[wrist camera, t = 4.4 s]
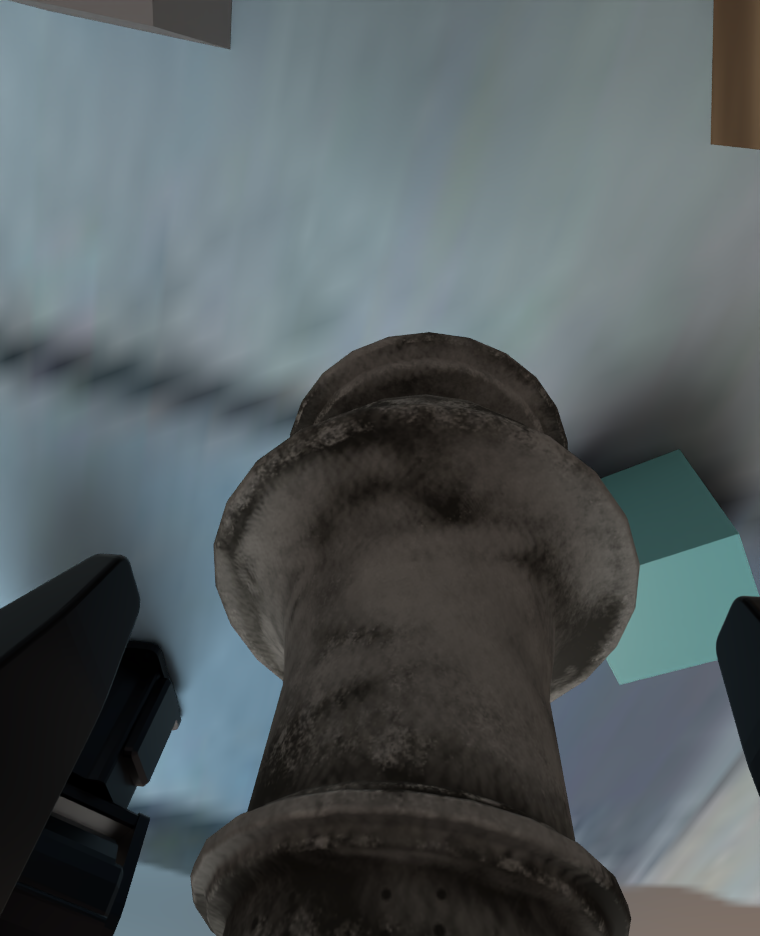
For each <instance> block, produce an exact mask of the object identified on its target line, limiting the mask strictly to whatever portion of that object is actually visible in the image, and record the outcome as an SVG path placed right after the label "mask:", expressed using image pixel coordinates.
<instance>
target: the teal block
mask: <svg viewBox="0 0 760 936" xmlns="http://www.w3.org/2000/svg"><path fill="white" fill-rule="evenodd" d="M601 480H602V482H603V483H604V484H605V486H606V487H607V489H608V490H609V492H610V493H611V494H612V496H613V497H614V499H615V500H616V502H617V503H618V505H619V506H620V507H621V509H622V510H623V512H624V513H625V515H626V517H627V519H628V522H629V526H630V529H631V533H632V537H633V541H634V544H635V548H636V552H637V556H638V559H639V563H640V570H639V579H638V588H637V598H636V607H635V610H634V612H633V614H632V616H631V618H630V620H629V622H628V624H627V626H626V629H625V631H624V633H623V635H622V637H621V639H620V641H619V643H618V645H617V647H616V648H615V649H614V650H613V651H612V652H611V653H610V654H609V655H608V656H607V658H606V660H607V662H608V664H609V666H610V667H611V669H612V671H613V673H614V675H615V677H616V679H617V681H618V683H619V685H621V684H625V683H629V682H633V681H637V680H641V679H645V678H649V677H653V676H657V675H661V674H665V673H668V672H672V671H676V670H680V669H684V668H688V667H692V666H696V665H700V664H704V663H708V662H712V661H715V660H718V659H717V654H716V641H717V637H718V634H719V632H720V630H721V627H722V625H723V623H724V621H725V618H726V616H727V614H728V612H729V609H730V607H731V605H732V603H733V601H734V600H735V599H736V598H738V597H740V596H756V597H759V594H758V591H757V588H756V585H755V582H754V578H753V575H752V572H751V569H750V566H749V563H748V560H747V557H746V554H745V551H744V548H743V545H742V542H741V538H740V535H739V533H738V532H737V530H736V529H735V527H734V526H733V525H732V523H731V522H730V520H729V519H728V517H727V516H726V515H725V513H724V512H723V510H722V509H721V508H720V506H719V505H718V503H717V502H716V501H715V499H714V498H713V496H712V495H711V493H710V492H709V491H708V489H707V488H706V486H705V485H704V484H703V482H702V481H701V479H700V478H699V476H698V475H697V474H696V472H695V471H694V469H693V468H692V467H691V465H690V464H689V462H688V461H687V459H686V458H685V457H684V455H683V454H682V452H681V451H680V450H679V449H678V450H676V451H673V452H670V453H668V454H665V455H662V456H660V457H657V458H654V459H652V460H649V461H646V462H644V463H641V464H638V465H636V466H633V467H630V468H628V469H625V470H622V471H620V472H617V473H614V474H612V475H609V476H606V477H604V478H601Z"/></svg>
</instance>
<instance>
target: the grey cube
mask: <svg viewBox="0 0 760 936" xmlns="http://www.w3.org/2000/svg"><path fill="white" fill-rule="evenodd" d="M9 1H13V2H17V3H21V4H25V5H29V6H33V7H36V8H40V9H44V10H48V11H52V12H57V13H62V14H66V15H71V16H76V17H81V18H85V19H90V20H95V21H99V22H104V23H109V24H113V25H118V26H123V27H128V28H132V29H137V30H142V31H146V32H151V33H156V34H160V35H165V36H170V37H175V38H179V39H184V40H189V41H193V42H198V43H203V44H207V45H212V46H217V47H222V48H226V49H230V44H231V12H232V0H9Z"/></svg>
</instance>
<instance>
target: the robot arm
mask: <svg viewBox="0 0 760 936" xmlns="http://www.w3.org/2000/svg"><path fill="white" fill-rule="evenodd" d="M139 608H140V596H139V592H138V589H137V585H136V582H135V578H134V575H133V572H132V568H131V565H130V562H129V560H128V559H127V558H126V557H125V556H122V555H114V554H96V555H94V556H92V557H90V558H88V559H86V560H84V561H83V562H81V563H79V564H78V565H76V566H74V567H72V568H71V569H69V570H67V571H65V572H64V573H62V574H60V575H58V576H57V577H55V578H53V579H51V580H50V581H48V582H46V583H44V584H43V585H41V586H39V587H37V588H36V589H34V590H32V591H30V592H29V593H27V594H25V595H24V596H22V597H20V598H18V599H17V600H15V601H13V602H11V603H10V604H8V605H6V606H4V607H3V608H1V609H0V936H113V934H114V932H115V930H116V927H117V925H118V922H119V920H120V917H121V914H122V911H123V908H124V905H125V902H126V898H127V895H128V892H129V888H130V885H131V882H132V878H133V875H134V872H135V868H136V865H137V862H138V858H139V855H140V851H141V848H142V845H143V841H144V838H145V835H146V831H147V828H148V824H149V821H150V817H148V816H146V815H144V814H142V813H138V814H136V813H134V812H132V811H130V810H128V809H127V807H128V805H129V803H130V800H131V798H132V796H133V794H134V792H135V789H136V787H137V786H145V785H146V784H147V783H148V782H149V781H150V779H151V776H152V774H153V772H154V770H155V767H156V765H157V763H158V761H159V758H160V756H161V754H162V752H163V749H164V747H165V745H166V742H167V740H168V738H169V736H170V733H171V731H172V730H176V729H178V727H179V725H180V722H181V717H180V709H179V706H178V702H177V699H176V695H175V692H174V688H173V685H172V682H171V680H170V678H169V675H168V671H167V668H166V664H165V661H164V657H163V654H162V650H161V649H160V647H159V646H158V645H156V644H154V643H147V642H135V641H128V640H129V637H130V635H131V632H132V629H133V626H134V624H135V621H136V618H137V616H138V613H139ZM716 654H717V659H718V662H719V666H720V669H721V673H722V677H723V680H724V684H725V687H726V691H727V694H728V698H729V702H730V705H731V709H732V712H733V716H734V719H735V723H736V727H737V730H738V734H739V737H740V741H741V744H742V748H743V751H744V754H745V758H746V761H747V764H748V767H749V770H750V773H751V775H752V778H753V781H754V783H755V786H756V789H757V791H758V794H759V796H760V597H756V596H740V597H738V598H736V599H735V600H734V601H733V603H732V605H731V607H730V609H729V612H728V614H727V616H726V618H725V621H724V623H723V625H722V627H721V630H720V632H719V634H718V637H717V641H716Z"/></svg>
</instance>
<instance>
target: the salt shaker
mask: <svg viewBox="0 0 760 936" xmlns="http://www.w3.org/2000/svg"><path fill="white" fill-rule="evenodd" d="M214 563H215V583H216V588H217V590H218V593H219V596H220V598H221V601H222V603H223V606H224V608H225V611H226V614H227V616H228V619H229V621H230V624H231V625H232V627H233V628H234V629H235V631H236V632H237V633H238V635H239V636H240V637H241V639H242V640H243V641H244V643H245V644H246V645H247V647H248V648H249V649H250V651H251V652H252V653H253V655H254V656H255V657H256V659H257V660H258V661H260V662H261V663H262V664H263V665H264V666H266V667H267V668H268V669H269V670H270V671H272V672H273V673H274V674H275V675H277V676H278V677H279V678H280V679H281V680H283V686H282V690H281V693H280V697H279V701H278V704H277V708H276V711H275V715H274V718H273V722H272V725H271V729H270V733H269V736H268V740H267V743H266V747H265V750H264V754H263V757H262V761H261V765H260V768H259V772H258V775H257V779H256V782H255V786H254V790H253V793H252V797H251V800H250V804H249V807H248V811H247V812H246V813H243V814H241V815H239V816H237V817H236V818H234V819H233V820H232V821H230V822H229V823H228V824H226V825H225V826H224V827H223V828H221V829H220V830H219V831H217V832H216V833H215V834H213V835H212V836H211V837H209V838H208V839H207V840H206V842H205V844H204V846H203V848H202V850H201V852H200V854H199V856H198V858H197V860H196V862H195V864H194V867H193V870H192V873H191V876H190V877H191V886H192V895H193V902H194V904H195V906H196V908H197V910H198V911H199V913H200V914H201V916H202V918H203V919H204V921H205V922H206V924H207V925H208V927H209V928H210V930H211V931H212V932H213V933H214V934H216V936H628V934H629V928H630V922H631V916H630V912H629V908H628V904H627V902H626V900H625V898H624V896H623V893H622V891H621V889H620V886H619V884H618V882H617V880H616V878H615V876H614V875H613V874H612V873H611V872H610V871H608V870H607V869H606V868H605V867H604V866H603V865H602V864H601V863H600V862H599V861H598V860H596V859H595V858H594V857H593V856H592V855H591V854H590V853H589V852H588V851H587V850H586V849H584V848H583V847H582V846H581V845H580V844H578V843H577V842H575V837H574V831H573V826H572V820H571V815H570V809H569V804H568V799H567V793H566V788H565V782H564V777H563V771H562V766H561V760H560V755H559V749H558V744H557V738H556V733H555V727H554V722H553V716H552V711H551V705H550V703H551V702H552V701H554V700H555V699H557V698H558V697H560V696H562V695H563V694H565V693H566V692H568V691H569V690H571V689H573V688H574V687H576V686H577V685H579V684H580V683H582V682H583V681H585V680H586V679H587V678H588V677H589V676H590V675H591V674H592V673H593V671H594V670H595V669H596V668H597V667H598V666H599V665H600V664H601V663H602V662H603V661H604V660H605V659H606V658H607V656H608V655H609V654H610V653H611V652H612V651H613V650H614V649H615V648H616V647H617V645H618V643H619V641H620V639H621V637H622V635H623V633H624V631H625V629H626V626H627V624H628V622H629V620H630V618H631V616H632V614H633V612H634V610H635V607H636V598H637V588H638V579H639V570H640V563H639V559H638V556H637V552H636V548H635V544H634V541H633V537H632V533H631V529H630V526H629V522H628V519H627V517H626V515H625V513H624V512H623V510H622V509H621V507H620V506H619V505H618V503H617V502H616V500H615V499H614V497H613V496H612V494H611V493H610V492H609V490H608V489H607V487H606V486H605V484H604V483H603V482H602V480H601V479H600V477H599V476H598V474H597V473H596V472H595V471H594V470H593V469H591V468H590V467H589V466H587V465H586V464H585V463H583V462H582V461H581V460H580V459H578V458H577V457H576V456H574V455H573V454H572V453H571V452H569V451H568V442H567V438H566V435H565V432H564V428H563V425H562V422H561V419H560V415H559V412H558V409H557V407H556V405H555V404H554V402H553V401H552V399H551V398H550V396H549V395H548V394H547V392H546V391H545V389H544V388H543V386H542V385H541V383H540V382H539V381H538V379H537V378H536V377H535V376H534V375H533V374H531V373H530V372H529V371H528V370H526V369H525V368H524V367H523V366H521V365H520V364H519V363H518V362H516V361H515V360H514V359H513V358H511V357H510V356H509V355H508V354H506V353H504V352H502V351H499V350H497V349H494V348H492V347H490V346H487V345H485V344H483V343H480V342H478V341H476V340H473V339H471V338H466V337H459V336H452V335H445V334H438V333H431V332H427V333H418V334H409V335H401V336H392V337H387V338H385V339H382V340H379V341H377V342H374V343H372V344H369V345H367V346H364V347H362V348H359V349H356V350H354V351H352V352H351V353H349V354H348V355H347V356H345V357H344V358H343V359H341V360H340V361H339V362H337V363H336V364H335V365H333V366H332V367H331V368H329V369H328V370H327V371H325V372H324V373H323V374H322V375H321V377H320V378H319V379H318V381H317V382H316V383H315V385H314V386H313V387H312V389H311V390H310V391H309V393H308V394H307V395H306V397H305V398H304V399H303V401H302V403H301V405H300V408H299V411H298V414H297V417H296V419H295V422H294V425H293V428H292V431H291V433H290V438H288V439H287V440H286V441H284V442H283V443H281V444H280V445H279V446H277V447H276V448H274V449H273V450H272V451H270V452H269V453H267V454H266V455H265V456H263V457H262V458H260V459H259V460H258V461H257V462H256V463H255V464H254V466H253V467H252V468H251V470H250V471H249V472H248V474H247V475H246V476H245V478H244V479H243V481H242V482H241V483H240V485H239V486H238V487H237V489H236V490H235V491H234V493H233V494H232V495H231V497H230V498H229V499H228V501H227V503H226V506H225V509H224V512H223V516H222V519H221V522H220V526H219V529H218V532H217V535H216V539H215V542H214Z"/></svg>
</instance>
